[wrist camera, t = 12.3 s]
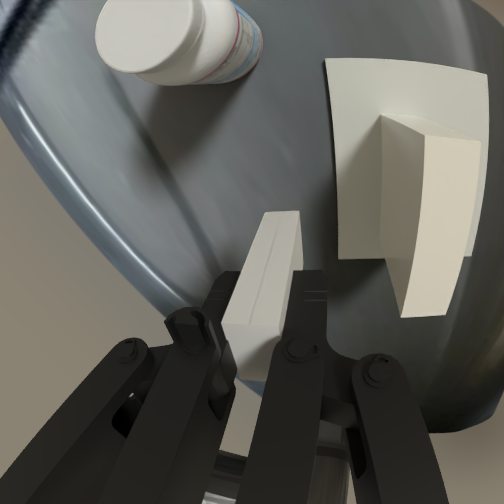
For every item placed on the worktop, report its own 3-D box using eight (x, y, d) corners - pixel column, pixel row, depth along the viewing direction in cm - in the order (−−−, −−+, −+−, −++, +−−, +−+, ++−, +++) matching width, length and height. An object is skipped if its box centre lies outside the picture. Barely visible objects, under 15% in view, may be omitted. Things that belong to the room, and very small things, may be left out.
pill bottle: (171, 38, 17) (66, 24, 8) (240, -2, 14) (170, -64, 5) (206, 98, 19) (114, 118, 10) (279, 61, 17) (240, 33, 8)
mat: (469, 253, 21) (470, 256, 21) (338, 256, 24) (338, 259, 24) (484, 74, 13) (486, 74, 12) (324, 59, 16) (325, 58, 16)
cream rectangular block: (412, 238, 21) (446, 314, 14) (378, 239, 22) (400, 317, 15) (419, 116, 16) (481, 141, 9) (380, 114, 17) (424, 135, 10)
